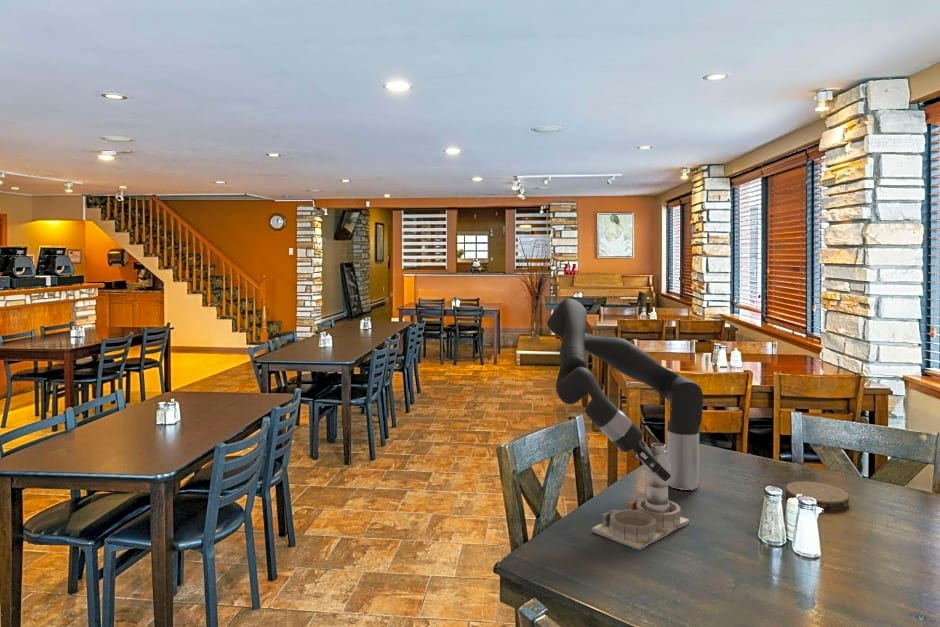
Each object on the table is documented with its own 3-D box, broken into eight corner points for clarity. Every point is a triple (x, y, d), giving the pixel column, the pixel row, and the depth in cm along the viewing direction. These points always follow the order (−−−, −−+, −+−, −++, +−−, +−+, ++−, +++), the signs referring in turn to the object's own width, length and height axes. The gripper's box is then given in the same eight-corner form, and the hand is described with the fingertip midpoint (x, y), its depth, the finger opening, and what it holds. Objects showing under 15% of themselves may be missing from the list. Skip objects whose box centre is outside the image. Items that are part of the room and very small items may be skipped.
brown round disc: (861, 506, 180) (861, 495, 180) (822, 516, 174) (822, 505, 173) (810, 487, 195) (811, 478, 194) (773, 496, 188) (773, 486, 188)
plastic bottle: (666, 514, 172) (668, 441, 170) (672, 524, 165) (674, 449, 163) (642, 513, 172) (643, 440, 171) (646, 523, 166) (648, 448, 164)
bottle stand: (643, 508, 179) (643, 492, 178) (689, 523, 168) (689, 506, 168) (591, 532, 164) (592, 514, 163) (638, 550, 153) (639, 532, 153)
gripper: (605, 432, 175) (647, 473, 175) (614, 447, 161) (660, 492, 161) (625, 413, 174) (667, 455, 174) (636, 427, 160) (681, 472, 160)
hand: (664, 473), depth 168 cm, fingers open, 8 cm apart
